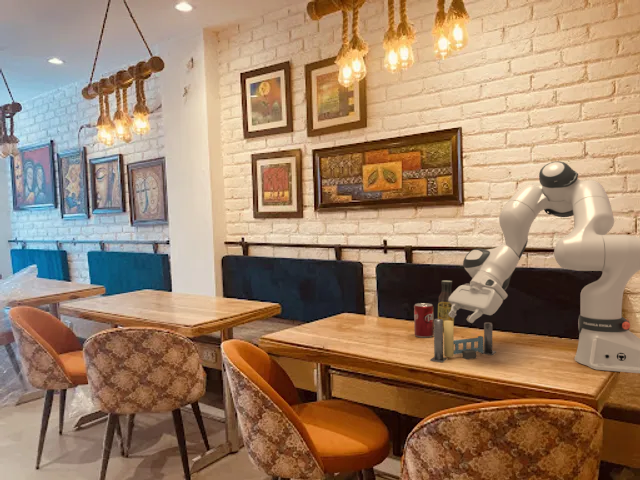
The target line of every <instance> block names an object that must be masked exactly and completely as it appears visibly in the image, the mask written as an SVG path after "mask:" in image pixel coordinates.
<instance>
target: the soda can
mask: <svg viewBox="0 0 640 480" xmlns="http://www.w3.org/2000/svg"><path fill="white" fill-rule="evenodd" d="M434 308H435V307H434V305H433V304H432V303H425V302H423V303H422V302H420V303H419V302H418V303H415V304H414V305H413V309H414V310H413V318H414V320H413V321H414V324H413V325H414V336H415V337H416V338H423V339H427V338H428V339H429V338H432V337H434V319H435V318H434V315H435V314H434Z"/></svg>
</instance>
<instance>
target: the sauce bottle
mask: <svg viewBox="0 0 640 480" xmlns="http://www.w3.org/2000/svg"><path fill="white" fill-rule="evenodd" d="M452 285H453V280H441V292H440V294H439V296H438V302H437V303H438V304H437V319H443V333H444V321H446V320H450V321H453V328H454V327H455V326H454V325H455V318H452V317H450V316H449V315H448V314H449V312H450V311H451V307H452V305H451V304H450V302H449V301H448V299H449V297H450V295H451V294H452V293H453V292H452Z"/></svg>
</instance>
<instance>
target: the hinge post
mask: <svg viewBox="0 0 640 480" xmlns="http://www.w3.org/2000/svg"><path fill="white" fill-rule="evenodd" d="M483 330H484V331H483V352H482V353H480V352H479V353H480V354H481V355H485V356H494V355H495V354H496V353H497V351H496V350H493V323H492V322H489V321H488V322H484V323H483Z"/></svg>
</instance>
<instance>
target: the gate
mask: <svg viewBox="0 0 640 480" xmlns="http://www.w3.org/2000/svg"><path fill="white" fill-rule="evenodd" d="M454 336H455V335H454V327H453V321H450V320H446V321H444V332H443V357H444V358H452V357H453V358H454V355H462V351H466V350H474V351H476V353H477V352H478V353H482V352H483V350H484V335H483V336H482V335H479V336H477V337H471V338H463V339H455V338H454ZM476 342H477V347H476V346H475V344H476ZM468 343H469V344H470V348H468V347H467V346H468V345H467V344H468ZM460 344H462V349H459V347H460V346H459V345H460Z"/></svg>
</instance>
